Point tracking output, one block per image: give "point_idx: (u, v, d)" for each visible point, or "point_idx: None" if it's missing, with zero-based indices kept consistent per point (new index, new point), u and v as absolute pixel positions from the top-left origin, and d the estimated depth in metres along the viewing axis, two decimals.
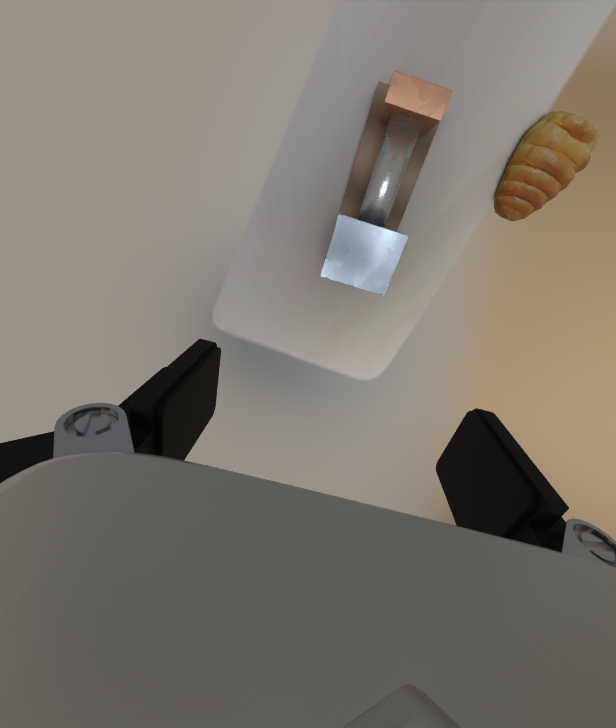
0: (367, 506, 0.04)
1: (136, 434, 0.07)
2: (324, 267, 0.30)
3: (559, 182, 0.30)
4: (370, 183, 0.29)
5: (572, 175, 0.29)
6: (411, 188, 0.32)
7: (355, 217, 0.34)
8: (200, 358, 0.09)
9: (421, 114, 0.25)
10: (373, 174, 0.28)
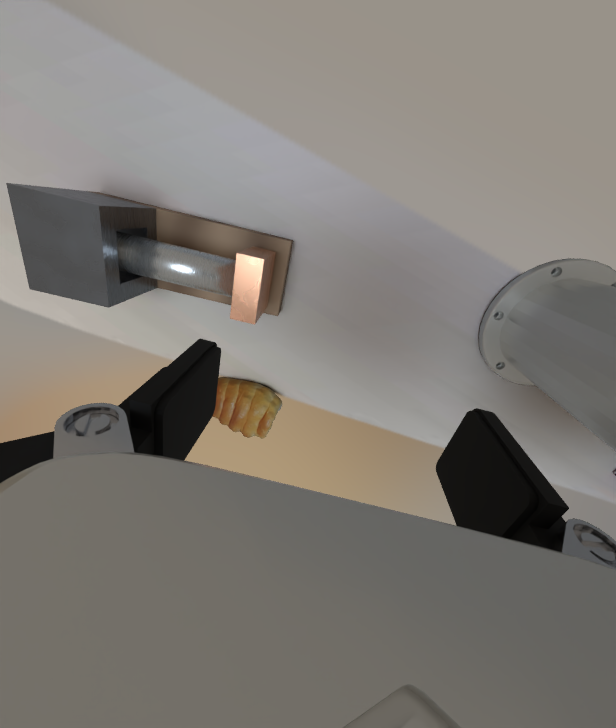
0: (367, 506, 0.04)
1: (136, 434, 0.07)
2: (21, 189, 0.19)
3: (229, 424, 0.34)
4: (172, 247, 0.23)
5: (234, 431, 0.34)
6: (203, 296, 0.29)
7: (158, 232, 0.26)
8: (200, 358, 0.09)
9: (232, 297, 0.22)
10: (181, 250, 0.23)
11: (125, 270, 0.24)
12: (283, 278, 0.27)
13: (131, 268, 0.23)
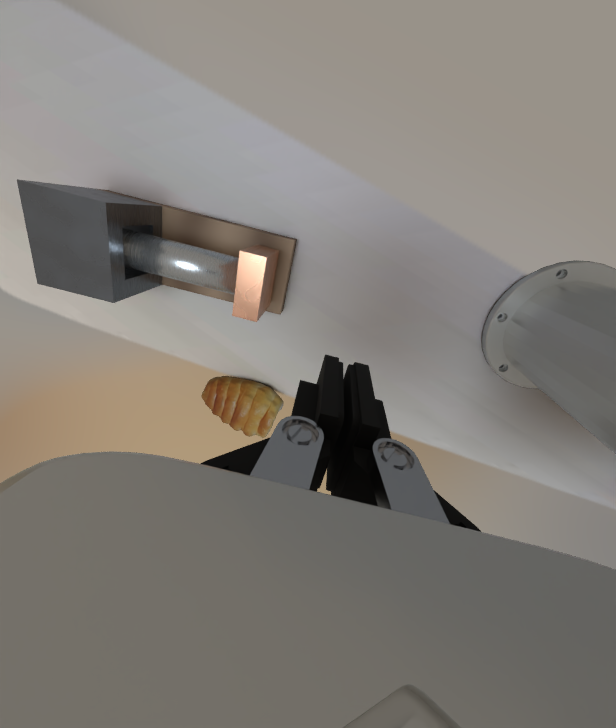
0: (367, 506, 0.04)
1: None
2: (31, 185, 0.19)
3: (230, 422, 0.34)
4: (176, 244, 0.23)
5: (236, 429, 0.34)
6: (207, 294, 0.29)
7: (164, 230, 0.27)
8: (338, 373, 0.10)
9: (235, 294, 0.23)
10: (186, 247, 0.23)
11: (130, 266, 0.24)
12: (286, 277, 0.27)
13: (136, 264, 0.23)
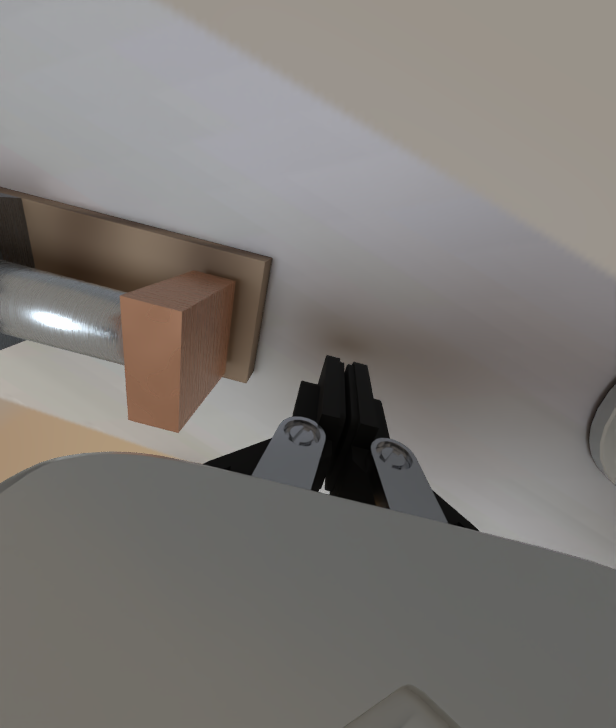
0: (367, 506, 0.04)
1: None
2: None
3: None
4: (16, 274, 0.11)
5: None
6: None
7: (33, 241, 0.15)
8: (339, 374, 0.10)
9: (129, 381, 0.11)
10: (35, 280, 0.11)
11: None
12: (253, 324, 0.15)
13: None
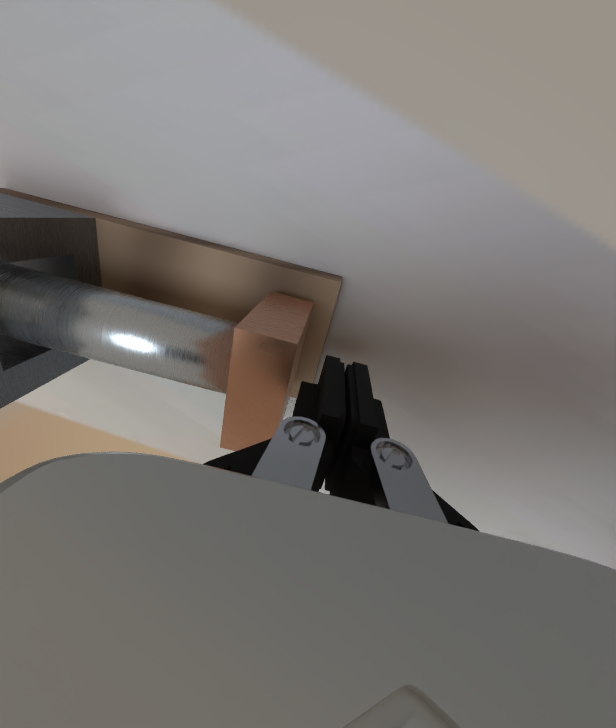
0: (367, 506, 0.04)
1: None
2: None
3: None
4: (107, 300, 0.11)
5: None
6: None
7: (103, 260, 0.15)
8: (339, 374, 0.10)
9: (226, 409, 0.11)
10: (126, 305, 0.11)
11: (20, 340, 0.12)
12: (322, 343, 0.15)
13: (27, 339, 0.11)
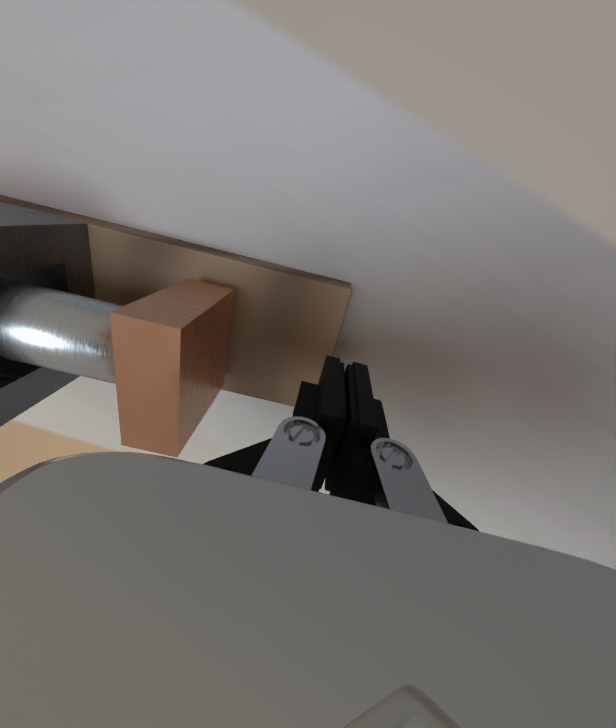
0: (367, 506, 0.04)
1: None
2: None
3: None
4: None
5: None
6: None
7: (96, 268, 0.14)
8: (339, 374, 0.10)
9: (122, 403, 0.10)
10: (12, 292, 0.10)
11: None
12: (331, 352, 0.15)
13: None
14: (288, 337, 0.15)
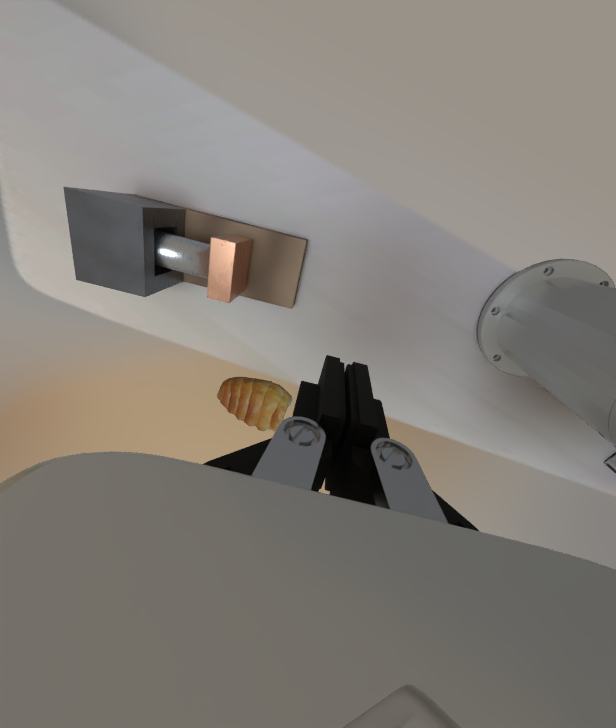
0: (367, 506, 0.04)
1: None
2: (76, 192, 0.22)
3: (244, 418, 0.37)
4: (156, 233, 0.26)
5: (250, 425, 0.37)
6: None
7: (187, 231, 0.29)
8: (339, 374, 0.10)
9: (209, 277, 0.25)
10: (165, 235, 0.26)
11: None
12: (298, 274, 0.30)
13: None
14: (277, 266, 0.30)
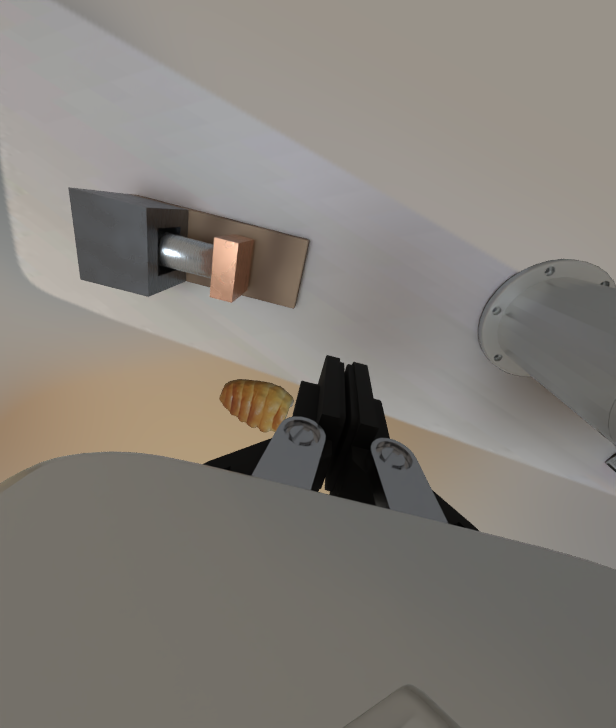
0: (367, 506, 0.04)
1: None
2: (80, 192, 0.22)
3: (247, 420, 0.38)
4: (160, 233, 0.26)
5: (252, 427, 0.38)
6: None
7: (189, 231, 0.29)
8: (339, 374, 0.10)
9: (212, 277, 0.25)
10: (168, 235, 0.26)
11: None
12: (300, 274, 0.30)
13: None
14: (279, 266, 0.30)
